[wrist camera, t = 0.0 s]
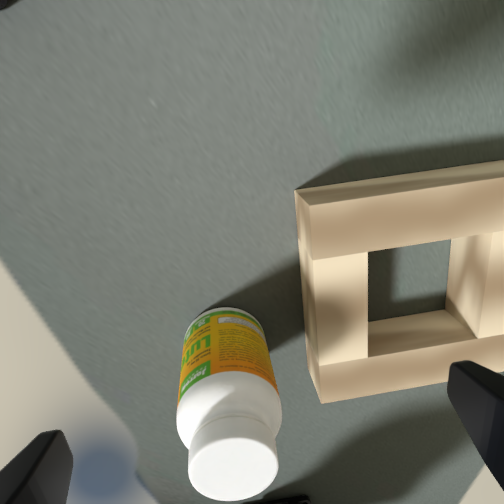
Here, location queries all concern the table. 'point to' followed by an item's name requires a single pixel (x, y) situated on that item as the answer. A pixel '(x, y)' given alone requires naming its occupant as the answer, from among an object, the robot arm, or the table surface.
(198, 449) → the supplement bottle
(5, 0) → the two-way radio
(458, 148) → the table surface
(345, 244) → the socket block
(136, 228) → the table surface
